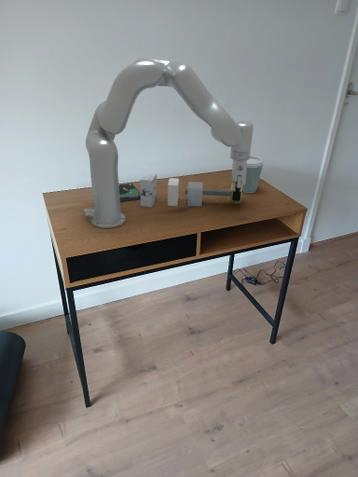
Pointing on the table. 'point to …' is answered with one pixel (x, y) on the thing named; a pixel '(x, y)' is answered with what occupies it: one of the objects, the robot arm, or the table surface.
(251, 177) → the disposable coffee cup
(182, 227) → the table surface
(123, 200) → the disk drive
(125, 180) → the table surface
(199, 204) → the block
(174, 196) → the white rectangular block
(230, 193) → the sliding bolt
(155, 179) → the ink box
